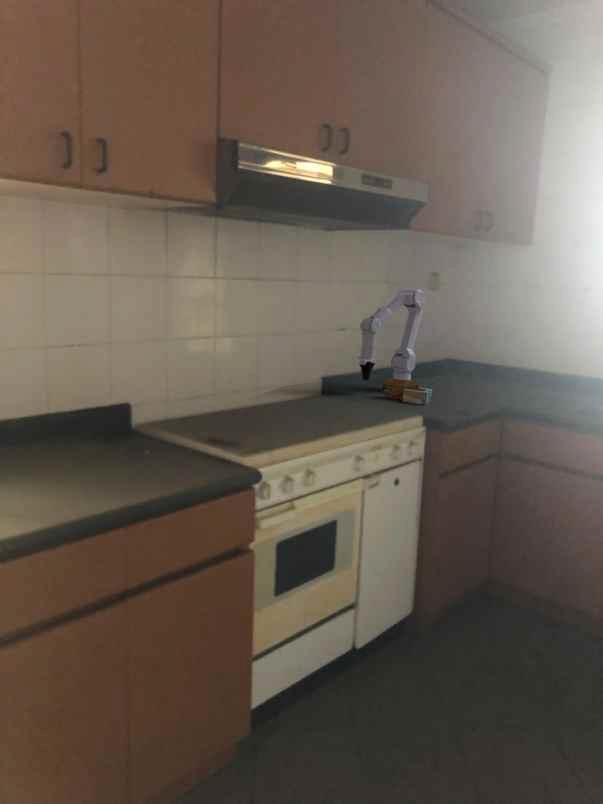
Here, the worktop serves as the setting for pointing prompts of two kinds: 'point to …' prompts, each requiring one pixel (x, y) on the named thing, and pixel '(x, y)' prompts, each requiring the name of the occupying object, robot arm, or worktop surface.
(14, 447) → the worktop surface
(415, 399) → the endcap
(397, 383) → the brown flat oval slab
